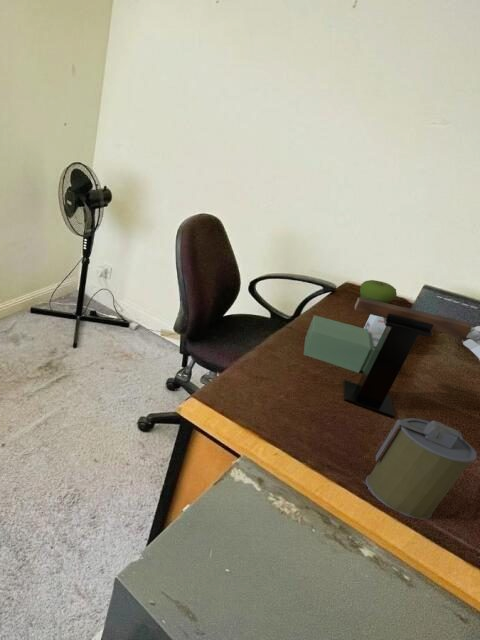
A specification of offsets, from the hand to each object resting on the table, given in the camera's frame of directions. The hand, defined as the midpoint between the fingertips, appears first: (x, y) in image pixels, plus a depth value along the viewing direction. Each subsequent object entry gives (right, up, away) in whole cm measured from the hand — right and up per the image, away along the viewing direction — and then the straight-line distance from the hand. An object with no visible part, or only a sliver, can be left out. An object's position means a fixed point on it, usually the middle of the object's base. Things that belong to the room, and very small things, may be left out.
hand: (460, 331), depth 98 cm
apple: (+45, -1, +67) cm, 80 cm away
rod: (-7, +1, +6) cm, 9 cm away
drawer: (+2, -14, +32) cm, 36 cm away
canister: (-27, -34, -11) cm, 44 cm away
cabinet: (0, -14, +35) cm, 38 cm away
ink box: (+19, -13, +39) cm, 46 cm away
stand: (-7, -22, +16) cm, 28 cm away
